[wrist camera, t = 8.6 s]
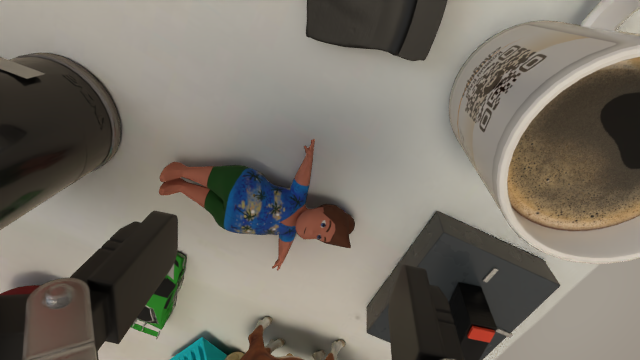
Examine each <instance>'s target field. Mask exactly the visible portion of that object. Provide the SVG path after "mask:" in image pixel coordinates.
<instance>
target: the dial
mask: <svg viewBox="0 0 640 360" xmlns="http://www.w3.org/2000/svg"><path fill="white" fill-rule="evenodd" d="M449 306H450V310H451V314H452V317H453V320H454V325H455V327H456V331H457V334H458V338H459V341H460V345H461V349H462V352H463V356H464V359H465V360H480V358H481V356H482V354H483V353H484V351H485V349H486V347H487V346H488V344H489V343H490V341H491V339H492V338H493V336H494V334H495V332H496V330H497V326H496V324H495V321H494V319H493V316H492V313H491V311H490V308H489V306H488V303H487V300H486V298H485V295H484V293H483V290H482V287H480V286H475V285H470V284H465V283H461V282H458V284H457V286H456V289H455V291H454V293H453V295H452V297H451V299H450V302H449Z"/></svg>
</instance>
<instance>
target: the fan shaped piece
mask: <svg viewBox="0 0 640 360" xmlns="http://www.w3.org/2000/svg"><path fill="white" fill-rule="evenodd" d="M446 3H447V0H307V26H306V36H307V37H311V38H313V39H315V40H318V41H321V42H325V43H329V44H334V45H338V46H343V47H353V48H366V49H378V50H383V51H387V52H389V53H391V54H393V55H395V56H399V57H401V58H404V59H407V60H411V61H417V60H423V61H424V60H425V59H426V57H427V55H428V53H429V51H430V48H431V46H432V44H433V41H434V39H435V36H436V34H437V31H438V28H439V26H440V23H441V20H442V17H443V14H444V10H445V7H446Z"/></svg>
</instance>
